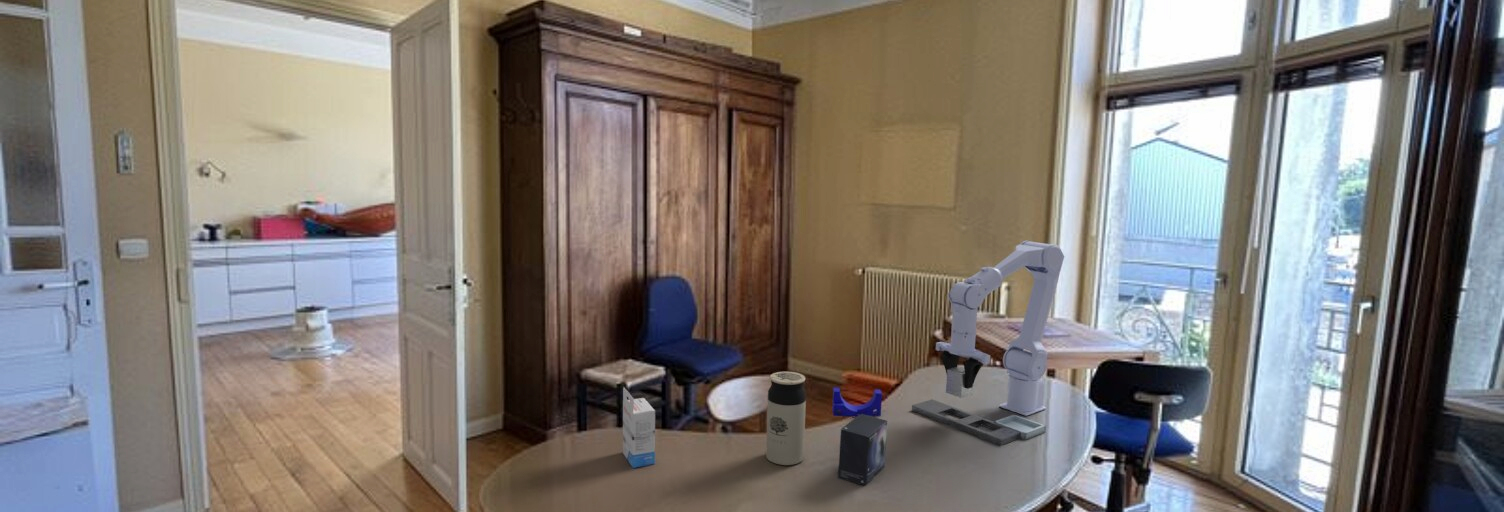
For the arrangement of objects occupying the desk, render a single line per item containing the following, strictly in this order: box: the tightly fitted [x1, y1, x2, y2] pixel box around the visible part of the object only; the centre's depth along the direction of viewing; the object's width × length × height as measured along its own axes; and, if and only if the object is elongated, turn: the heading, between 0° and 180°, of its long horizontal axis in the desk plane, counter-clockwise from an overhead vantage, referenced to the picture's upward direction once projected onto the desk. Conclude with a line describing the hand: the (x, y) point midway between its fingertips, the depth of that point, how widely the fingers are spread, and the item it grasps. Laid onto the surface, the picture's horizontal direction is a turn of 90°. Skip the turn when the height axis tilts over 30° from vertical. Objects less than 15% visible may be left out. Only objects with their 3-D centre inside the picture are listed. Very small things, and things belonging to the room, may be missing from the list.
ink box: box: [622, 387, 656, 469], centre depth 139 cm, size 8×5×15 cm, turn 26°
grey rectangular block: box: [945, 366, 974, 399], centre depth 164 cm, size 4×4×6 cm
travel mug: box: [765, 371, 807, 466], centre depth 141 cm, size 8×8×18 cm
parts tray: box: [993, 414, 1047, 441], centre depth 160 cm, size 8×8×2 cm
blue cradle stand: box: [832, 387, 883, 418], centre depth 168 cm, size 12×4×6 cm, turn 86°
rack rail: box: [911, 399, 1022, 446], centre depth 164 cm, size 8×26×1 cm, turn 36°
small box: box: [837, 414, 888, 486], centre depth 135 cm, size 11×6×10 cm, turn 148°
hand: (960, 384), depth 165 cm, fingers closed on grey rectangular block, 4 cm apart
